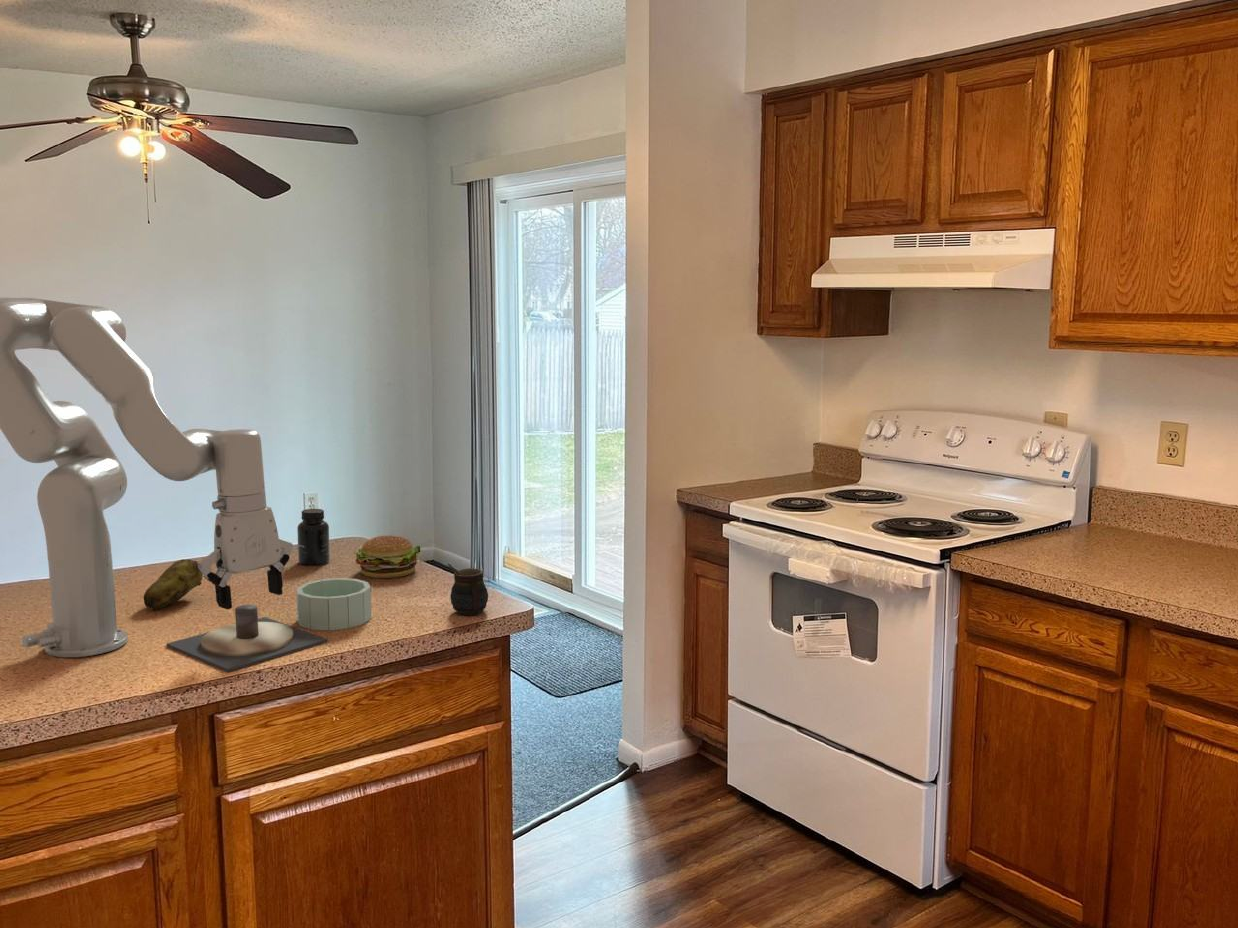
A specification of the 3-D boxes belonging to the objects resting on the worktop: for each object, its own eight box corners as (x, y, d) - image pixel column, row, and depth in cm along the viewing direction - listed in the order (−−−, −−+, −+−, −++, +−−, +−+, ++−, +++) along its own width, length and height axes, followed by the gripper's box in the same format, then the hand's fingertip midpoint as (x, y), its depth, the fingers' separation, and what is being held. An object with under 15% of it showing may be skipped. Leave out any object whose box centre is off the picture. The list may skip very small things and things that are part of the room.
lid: (232, 663, 165) (231, 627, 164) (183, 643, 174) (181, 609, 173) (311, 639, 177) (309, 605, 176) (261, 621, 186) (259, 590, 185)
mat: (228, 672, 162) (228, 669, 162) (166, 646, 174) (166, 643, 174) (327, 641, 177) (327, 638, 177) (265, 619, 189) (264, 616, 189)
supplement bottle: (292, 565, 226) (290, 512, 224) (307, 557, 233) (305, 506, 231) (321, 567, 225) (319, 514, 223) (335, 559, 232) (333, 508, 230)
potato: (130, 606, 196) (127, 566, 194) (193, 592, 206) (191, 553, 204) (151, 615, 190) (148, 574, 189) (215, 600, 200) (213, 560, 199)
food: (344, 580, 216) (343, 543, 214) (369, 563, 230) (368, 528, 228) (406, 583, 214) (406, 546, 213) (428, 565, 228) (427, 531, 226)
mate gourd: (494, 614, 194) (494, 563, 192) (457, 620, 190) (456, 569, 188) (479, 604, 200) (478, 554, 198) (443, 610, 196) (442, 560, 194)
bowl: (326, 635, 181) (325, 602, 180) (283, 620, 188) (282, 589, 187) (384, 617, 191) (384, 586, 190) (341, 604, 199) (340, 574, 198)
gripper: (207, 514, 163) (216, 617, 165) (299, 496, 176) (307, 591, 179) (182, 509, 167) (192, 609, 170) (274, 492, 181) (282, 585, 183)
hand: (251, 600), depth 174 cm, fingers open, 9 cm apart
